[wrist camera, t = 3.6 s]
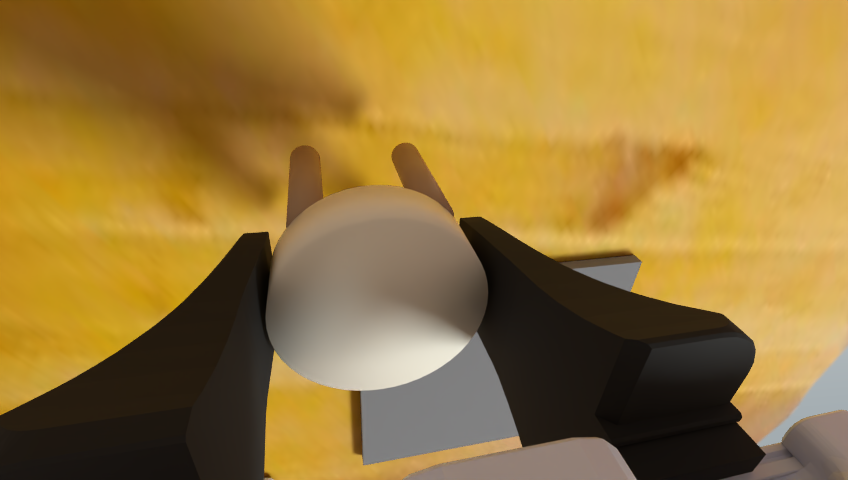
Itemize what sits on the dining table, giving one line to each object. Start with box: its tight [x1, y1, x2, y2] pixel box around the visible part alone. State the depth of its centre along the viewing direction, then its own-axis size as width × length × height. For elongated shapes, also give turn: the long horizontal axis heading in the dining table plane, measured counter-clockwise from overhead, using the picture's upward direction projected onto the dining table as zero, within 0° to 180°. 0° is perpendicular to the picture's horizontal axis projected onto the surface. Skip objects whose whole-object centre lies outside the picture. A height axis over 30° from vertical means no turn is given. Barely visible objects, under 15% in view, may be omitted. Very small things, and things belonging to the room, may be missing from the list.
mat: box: [360, 255, 642, 465], centre depth 24 cm, size 14×13×1 cm
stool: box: [265, 143, 488, 391], centre depth 13 cm, size 5×5×6 cm
